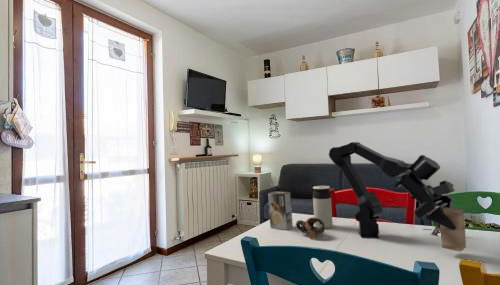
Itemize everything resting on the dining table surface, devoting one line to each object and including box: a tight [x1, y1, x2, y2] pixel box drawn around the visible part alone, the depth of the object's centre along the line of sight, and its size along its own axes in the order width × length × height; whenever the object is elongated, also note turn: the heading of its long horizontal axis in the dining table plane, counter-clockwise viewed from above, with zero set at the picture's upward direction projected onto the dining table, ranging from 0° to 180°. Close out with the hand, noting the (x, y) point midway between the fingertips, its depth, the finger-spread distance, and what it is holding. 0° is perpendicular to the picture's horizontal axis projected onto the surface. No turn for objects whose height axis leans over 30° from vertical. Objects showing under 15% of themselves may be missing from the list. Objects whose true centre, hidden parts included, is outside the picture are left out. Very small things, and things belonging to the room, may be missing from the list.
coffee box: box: [267, 191, 294, 231], centre depth 129 cm, size 9×6×16 cm
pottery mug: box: [295, 216, 326, 240], centre depth 115 cm, size 12×10×8 cm
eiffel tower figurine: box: [422, 223, 441, 237], centre depth 107 cm, size 15×10×13 cm
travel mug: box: [312, 185, 334, 229], centre depth 127 cm, size 8×8×18 cm
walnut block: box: [440, 207, 467, 253], centre depth 88 cm, size 5×5×12 cm
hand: (457, 227), depth 87 cm, fingers closed on walnut block, 5 cm apart
